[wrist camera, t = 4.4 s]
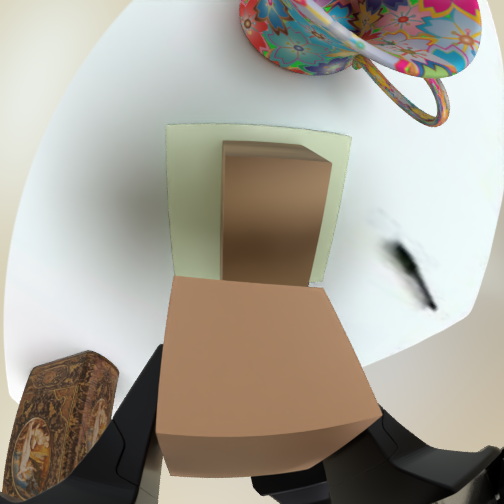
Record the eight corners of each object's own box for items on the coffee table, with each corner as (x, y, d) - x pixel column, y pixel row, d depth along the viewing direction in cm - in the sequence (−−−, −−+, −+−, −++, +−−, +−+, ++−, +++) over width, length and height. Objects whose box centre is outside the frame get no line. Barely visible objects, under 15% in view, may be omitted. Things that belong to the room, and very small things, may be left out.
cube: (323, 287, 9) (382, 415, 5) (284, 370, 12) (308, 469, 7) (173, 275, 8) (155, 432, 4) (173, 366, 11) (170, 475, 6)
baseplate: (318, 276, 23) (321, 281, 22) (176, 279, 21) (175, 285, 21) (346, 135, 17) (351, 137, 16) (168, 124, 15) (166, 125, 14)
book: (94, 347, 25) (66, 559, 4) (125, 373, 28) (114, 565, 7) (32, 367, 27) (1, 510, 6) (57, 387, 30) (35, 524, 9)
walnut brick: (283, 273, 21) (300, 318, 17) (219, 274, 21) (222, 322, 16) (301, 144, 16) (332, 163, 12) (222, 140, 15) (225, 156, 11)
